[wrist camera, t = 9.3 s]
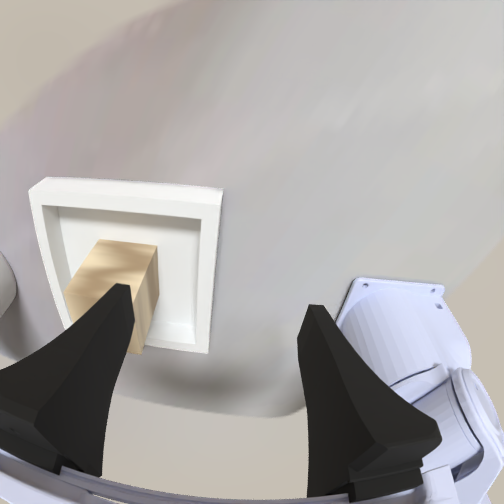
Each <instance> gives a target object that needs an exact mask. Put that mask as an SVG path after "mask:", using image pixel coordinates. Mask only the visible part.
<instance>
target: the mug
mask: <svg viewBox="0 0 504 504" xmlns="http://www.w3.org/2000/svg"><path fill="white" fill-rule="evenodd" d="M16 290H17V289H16V280H15V277H14V274H13V271H12V269H11V267H10V265H9V263H8V262H7V260H6V259H5V257H4V256H3V254H2V253H1V252H0V318H1V317H2V315H3V314H4V313H5V311H6V310H7V308H8V307H9V306H10V304H11V303H12V301H13V300H14V298H15V295H16Z"/></svg>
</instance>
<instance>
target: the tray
mask: <svg viewBox="0 0 504 504" xmlns="http://www.w3.org/2000/svg"><path fill="white" fill-rule="evenodd" d="M223 190H224V189H222V188H213V187H203V186H193V185H183V184H172V183H160V182H147V181H133V180H118V179H100V178H78V177H46V178H44V179H43V180H42V181H40V182H39V183H37V184H36V185H35V186H33V187H32V188H31V189H29V190H28V192H29V198H30V204H31V209H32V215H33V220H34V225H35V230H36V234H37V239H38V243H39V247H40V251H41V255H42V259H43V263H44V267H45V270H46V274H47V277H48V281H49V284H50V287H51V290H52V294H53V297H54V300H55V303H56V306H57V309H58V312H59V315H60V317H61V320H62V323H63V326H64V328H65V329H66V330H67V329H68V328H69V327H70V326H71V325H72V324H73V322H72V319H71V316H70V313H69V309H68V306H67V303H66V300H65V297H64V293H63V292H64V290H65V289H66V287H67V286H68V284H69V282H70V281H71V279H72V278H73V276H74V275H75V273H76V272H77V270H78V269H79V267H80V266H81V264H82V263H83V261H84V260H85V258H86V257H87V256H88V254H89V253H90V251H91V250H92V248H93V247H94V246H95V244H96V243H97V241H98V240H99V239H104V240H113V241H122V242H131V243H140V244H148V245H157V252H158V276H159V294H160V295H159V298H158V301H157V304H156V307H155V310H154V314H153V317H152V320H151V323H150V327H149V330H148V333H147V337H146V340H145V343H144V345H148V346H154V347H161V348H168V349H175V350H182V351H190V352H199V353H207V354H208V349H209V340H210V331H211V317H212V305H213V292H214V281H215V269H216V258H217V248H218V237H219V227H220V218H221V208H222V199H223Z"/></svg>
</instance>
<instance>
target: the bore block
mask: <svg viewBox="0 0 504 504" xmlns="http://www.w3.org/2000/svg"><path fill="white" fill-rule="evenodd" d="M116 283H120V284H127V285H130V288H131V296H132V303H133V310H134V316H135V324H134V328H133V333H132V337H131V341H130V344H129V347H128V349H127V352H128V353H134V354H140V355H141V354H142V350H143V347H144V343H145V340H146V337H147V333H148V330H149V327H150V323H151V320H152V317H153V314H154V310H155V307H156V304H157V301H158V298H159V295H160V294H159V276H158V252H157V245H148V244H140V243H131V242H122V241H113V240H104V239H99V240H98V241H97V243H96V244H95V246H94V247H93V248H92V250H91V251H90V253H89V254H88V256H87V257H86V258H85V260H84V261H83V263H82V264H81V266H80V267H79V269H78V270H77V272H76V273H75V275H74V276H73V278H72V279H71V281H70V282H69V284H68V286H67V287H66V289H65V290H64V292H63V293H64V297H65V300H66V303H67V306H68V309H69V313H70V316H71V319H72V322H73V323H75V322H76V321H77V320H78V319H79V318H80V317H81V316H82V315H83V314H85V313H86V312H87V311H88V310H89V309H90V308H91V307H92V306H93V305H94V304H95V303H96V302H97V301H98V300H99V299H100V298H101V297H102V296H103V295H104V294H105V293H106V292H107V291H108V290H109V289H110V288H111V287H112V286H113V285H114V284H116Z"/></svg>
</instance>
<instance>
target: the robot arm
mask: <svg viewBox="0 0 504 504" xmlns="http://www.w3.org/2000/svg"><path fill="white" fill-rule="evenodd" d="M365 283H367V284H366V285H363V284H365ZM444 291H445V288H444V286H443V285H438V284H426V283H415V282H404V281H393V280H382V279H371V278H356V279H355V280H354V281H353V283H352V286H351V288H350V291H349V293H348V295H347V298H346V300H345V303H344V305H343V307H342V310H341V312H340V314H339V316H338V319H337V321H336V323H335V322H334V320H333V319H332V317H331V316H330V314H329V313H328V311H327V310H326V308H325V307H324V306H323V305H311V304H309V306H308V309H307V312H306V315H305V318H304V320H303V323H302V326H301V329H300V332H299V334H298V337H297V345H298V361H299V367H300V373H301V378H302V384H303V389H304V395H305V401H306V407H307V415H308V440H309V467H308V468H309V469H308V487H307V498H299V499H281V500H280V499H279V500H237V499H219V498H206V497H195V496H187V495H179V494H172V493H166V492H160V491H153V490H149V489H144V488H139V487H133V486H130V485H125V484H121V483H117V482H113V481H109V480H105V479H102V478H99V477H100V476H102V463H103V462H102V461H103V449H104V440H105V432H106V425H107V419H108V413H109V407H110V403H111V397H112V393H113V390H114V386H115V383H116V380H117V377H118V375H119V372H120V369H121V366H122V363H123V361H124V358H125V355H126V352H127V349H128V347H129V344H130V341H131V337H132V333H133V328H134V324H135V316H134V310H133V303H132V296H131V288H130V285H127V284H120V283H116V284H114V285H113V286H112V287H111V288H110V289H109V290H108V291H107V292H106V293H105V294H104V295H103V296H102V297H101V298H100V299H99V300H98V301H97V302H96V303H95V304H94V305H93V306H92V307H91V308H90V309H89V310H88V311H87V312H86V313H85V314H83V315H82V316H81V317H80V318H79V319H78V320H77V321H76V322H75V323H73V324H72V325H71V326H70V327H69V328H68V329H67V330H65V331H64V332H63V333H62V334H60V335H59V336H58V337H56V338H55V339H54V340H52V341H51V342H50V343H48V344H47V345H45V346H44V347H42V348H41V349H39V350H37V351H36V352H34V353H33V354H31V355H29V356H28V357H26V358H24V359H22V360H20V361H19V362H17V363H15V364H13V365H11V366H8V367H6V368H4V369H1V370H0V498H2V499H4V500H6V501H7V502H9V503H11V504H118V503H114V502H112V501H109V500H106V499H103V498H100V497H97V496H94V495H98V496H101V497H105V498H108V499H112V500H116V501H120V502H124V503H128V504H491V501H490V499H489V497H488V495H487V491H488V490H489V488H490V487H491V485H492V484H493V482H494V481H495V479H496V478H497V476H498V474H499V473H500V471H501V469H502V468H503V466H504V432H503V430H502V428H501V425H500V421H499V418H498V415H497V413H496V410H495V408H494V405H493V403H492V401H491V399H490V397H489V395H488V393H487V391H486V389H485V388H484V386H483V384H482V383H481V381H480V380H479V378H478V377H477V376H476V374H475V373H474V372H473V371H472V370H470V369H471V350H470V345H469V343H468V340H467V338H466V336H465V335H464V333H463V331H462V330H461V328H460V326H459V324H458V323H457V321H456V319H455V318H454V316H453V314H452V313H451V311H450V310H449V308H448V306H447V305H446V303H445V302H444V300H443V298H442V295H443V293H444ZM93 494H94V495H93Z"/></svg>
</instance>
